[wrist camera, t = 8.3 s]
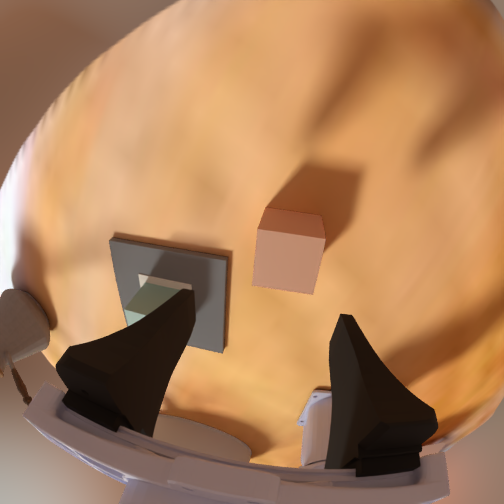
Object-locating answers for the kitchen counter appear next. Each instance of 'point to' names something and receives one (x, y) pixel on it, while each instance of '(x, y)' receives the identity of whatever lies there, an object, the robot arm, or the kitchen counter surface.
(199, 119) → the kitchen counter surface
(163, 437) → the kettle
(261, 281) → the top block
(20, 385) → the coffee pot
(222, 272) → the grey flat square plate
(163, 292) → the base block
